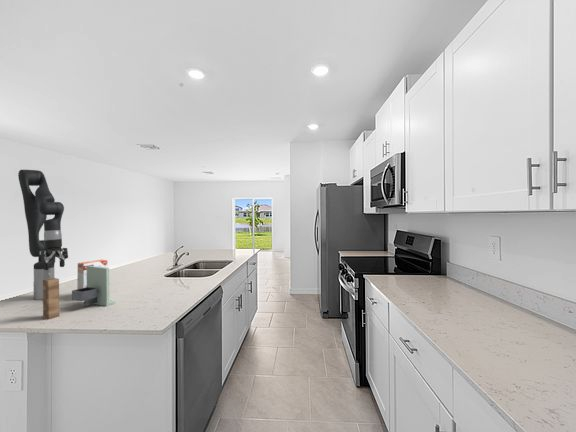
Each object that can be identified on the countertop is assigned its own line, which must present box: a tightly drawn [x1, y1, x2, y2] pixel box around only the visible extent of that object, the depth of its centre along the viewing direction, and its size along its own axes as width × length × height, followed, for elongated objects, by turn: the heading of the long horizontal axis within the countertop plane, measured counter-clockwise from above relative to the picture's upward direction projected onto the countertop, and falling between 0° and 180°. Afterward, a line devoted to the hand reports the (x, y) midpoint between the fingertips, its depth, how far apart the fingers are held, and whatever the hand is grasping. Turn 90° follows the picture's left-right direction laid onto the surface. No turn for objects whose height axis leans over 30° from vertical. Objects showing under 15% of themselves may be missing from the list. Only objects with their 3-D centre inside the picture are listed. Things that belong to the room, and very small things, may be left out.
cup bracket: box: [71, 266, 117, 307], centre depth 155 cm, size 16×15×20 cm
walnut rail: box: [42, 277, 60, 320], centre depth 138 cm, size 4×4×18 cm
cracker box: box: [76, 259, 108, 290], centre depth 170 cm, size 14×6×21 cm, turn 156°
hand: (54, 268), depth 159 cm, fingers open, 8 cm apart
